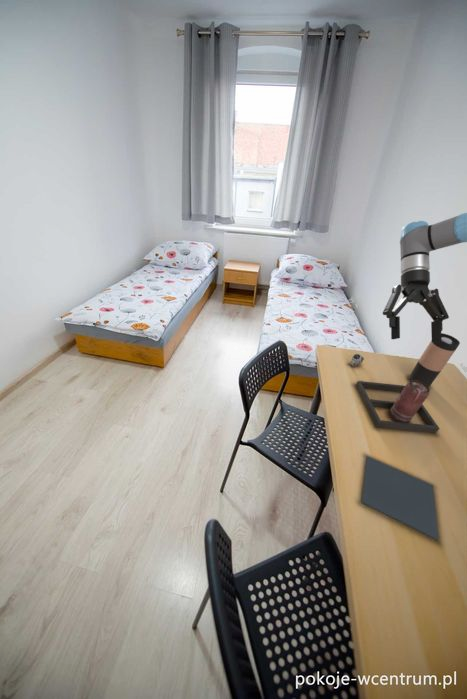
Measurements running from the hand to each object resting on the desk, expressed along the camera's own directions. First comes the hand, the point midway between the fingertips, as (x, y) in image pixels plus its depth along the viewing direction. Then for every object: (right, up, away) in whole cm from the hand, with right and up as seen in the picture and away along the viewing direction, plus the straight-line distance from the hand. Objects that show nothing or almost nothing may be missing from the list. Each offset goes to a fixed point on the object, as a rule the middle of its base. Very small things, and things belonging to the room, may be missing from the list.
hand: (416, 340), depth 83 cm
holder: (-2, -22, +9) cm, 24 cm away
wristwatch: (-6, -9, +27) cm, 29 cm away
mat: (-15, -38, -16) cm, 44 cm away
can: (-2, -25, +5) cm, 26 cm away
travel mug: (+15, -15, +22) cm, 31 cm away
